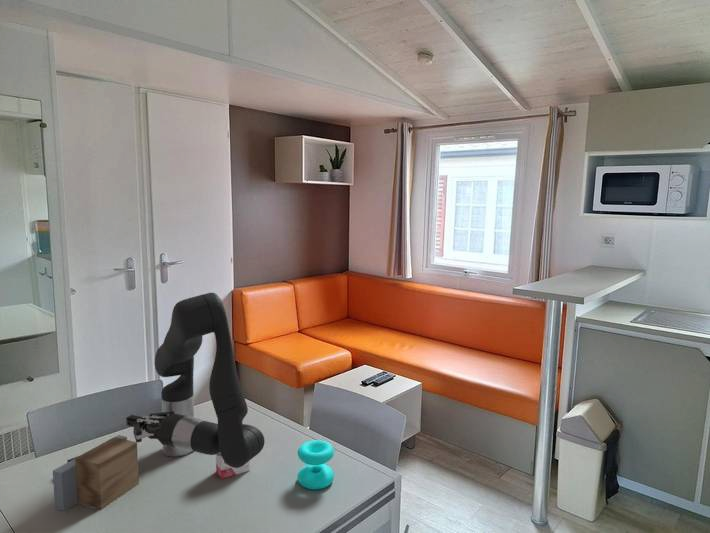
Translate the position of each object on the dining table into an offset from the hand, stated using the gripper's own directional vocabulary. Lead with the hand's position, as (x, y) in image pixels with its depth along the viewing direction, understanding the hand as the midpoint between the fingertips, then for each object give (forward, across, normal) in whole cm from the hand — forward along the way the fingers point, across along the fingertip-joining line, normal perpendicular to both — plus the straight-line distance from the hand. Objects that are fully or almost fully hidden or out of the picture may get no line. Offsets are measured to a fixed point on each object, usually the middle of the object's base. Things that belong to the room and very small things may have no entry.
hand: (128, 419), depth 119 cm
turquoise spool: (-41, -24, +21) cm, 52 cm away
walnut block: (+7, 0, +21) cm, 23 cm away
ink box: (-17, -20, +22) cm, 34 cm away
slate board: (+13, 0, +21) cm, 25 cm away
